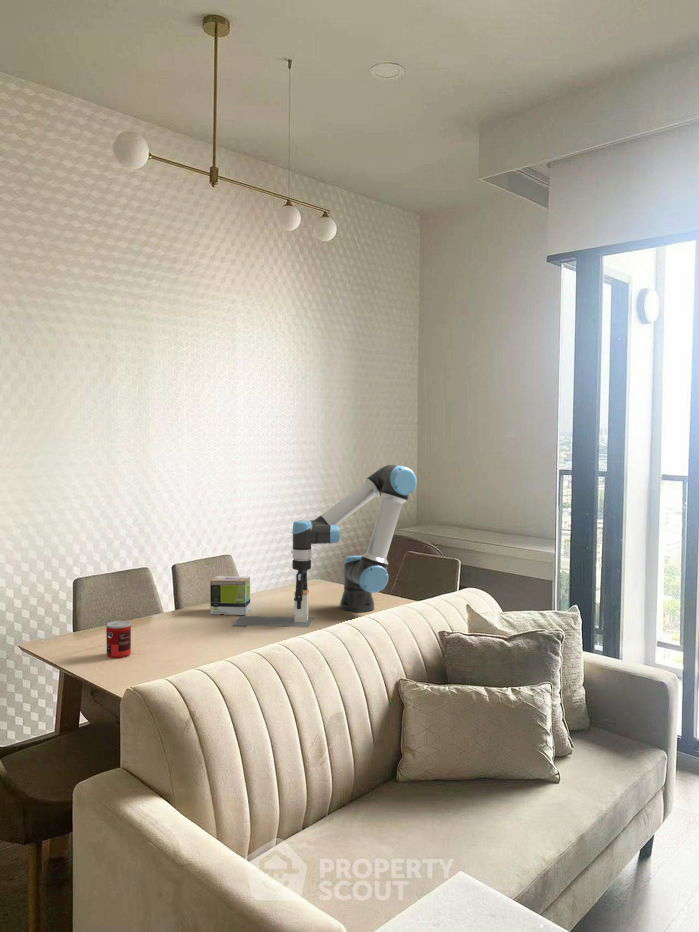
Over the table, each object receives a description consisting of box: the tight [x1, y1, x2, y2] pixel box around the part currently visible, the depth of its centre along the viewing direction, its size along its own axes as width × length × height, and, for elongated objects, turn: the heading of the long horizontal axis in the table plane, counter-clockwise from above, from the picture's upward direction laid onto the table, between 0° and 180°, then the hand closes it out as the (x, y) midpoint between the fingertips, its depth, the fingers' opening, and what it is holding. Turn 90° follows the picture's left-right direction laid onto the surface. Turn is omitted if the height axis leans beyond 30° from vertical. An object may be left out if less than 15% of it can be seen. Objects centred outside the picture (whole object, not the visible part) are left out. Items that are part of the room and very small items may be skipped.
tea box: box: [209, 575, 251, 616], centre depth 304 cm, size 15×10×15 cm
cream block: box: [293, 589, 310, 623], centre depth 290 cm, size 5×5×12 cm
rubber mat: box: [232, 615, 314, 628], centre depth 289 cm, size 30×14×1 cm, turn 86°
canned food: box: [105, 620, 132, 659], centre depth 245 cm, size 8×8×11 cm
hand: (301, 612), depth 290 cm, fingers open, 11 cm apart
